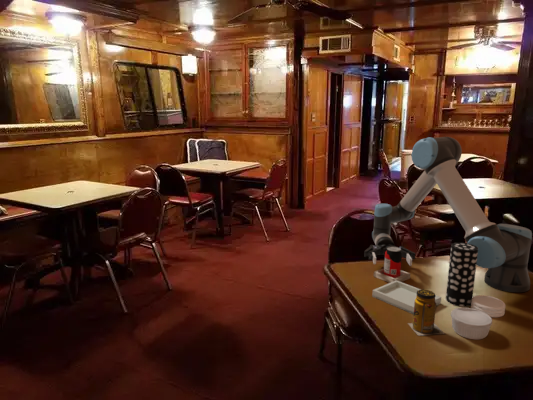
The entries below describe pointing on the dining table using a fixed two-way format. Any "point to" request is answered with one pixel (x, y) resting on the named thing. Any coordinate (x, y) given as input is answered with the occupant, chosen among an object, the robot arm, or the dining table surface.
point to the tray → (399, 295)
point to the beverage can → (392, 262)
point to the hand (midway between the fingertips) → (392, 261)
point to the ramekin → (471, 323)
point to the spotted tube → (461, 274)
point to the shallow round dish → (488, 305)
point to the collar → (389, 279)
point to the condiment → (425, 314)
